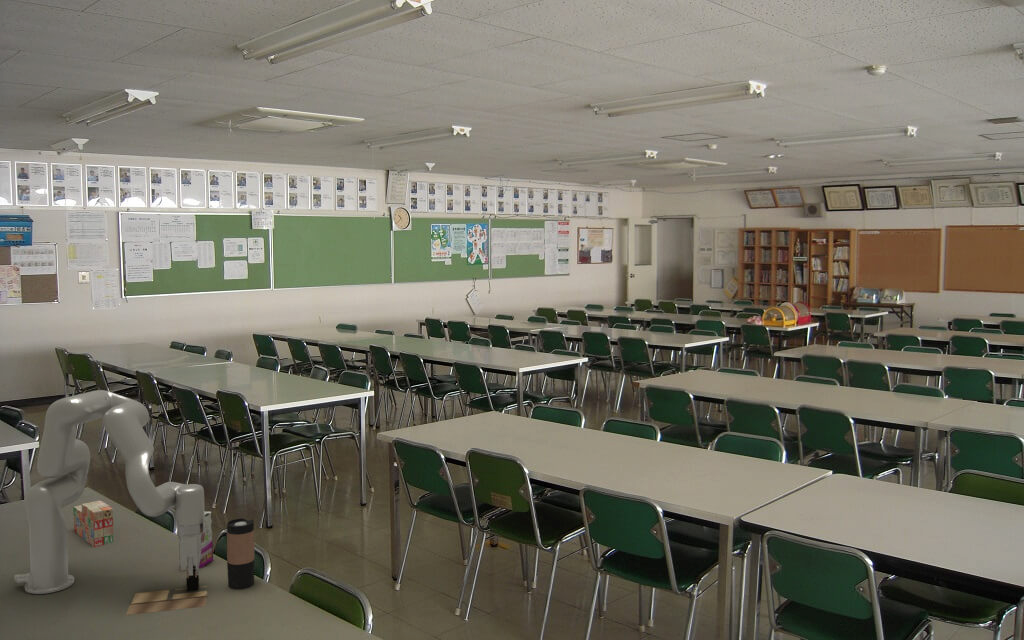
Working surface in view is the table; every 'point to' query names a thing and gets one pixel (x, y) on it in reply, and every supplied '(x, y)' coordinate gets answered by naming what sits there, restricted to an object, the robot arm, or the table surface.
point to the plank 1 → (150, 596)
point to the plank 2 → (189, 594)
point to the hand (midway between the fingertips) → (192, 589)
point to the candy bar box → (205, 542)
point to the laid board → (166, 605)
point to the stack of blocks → (94, 522)
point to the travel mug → (240, 553)
